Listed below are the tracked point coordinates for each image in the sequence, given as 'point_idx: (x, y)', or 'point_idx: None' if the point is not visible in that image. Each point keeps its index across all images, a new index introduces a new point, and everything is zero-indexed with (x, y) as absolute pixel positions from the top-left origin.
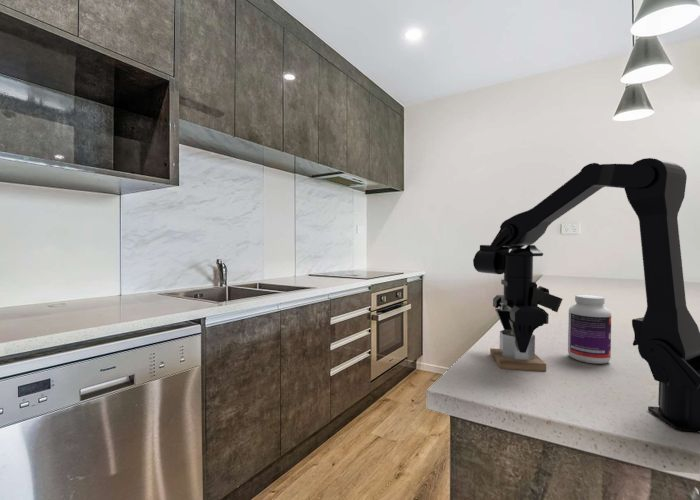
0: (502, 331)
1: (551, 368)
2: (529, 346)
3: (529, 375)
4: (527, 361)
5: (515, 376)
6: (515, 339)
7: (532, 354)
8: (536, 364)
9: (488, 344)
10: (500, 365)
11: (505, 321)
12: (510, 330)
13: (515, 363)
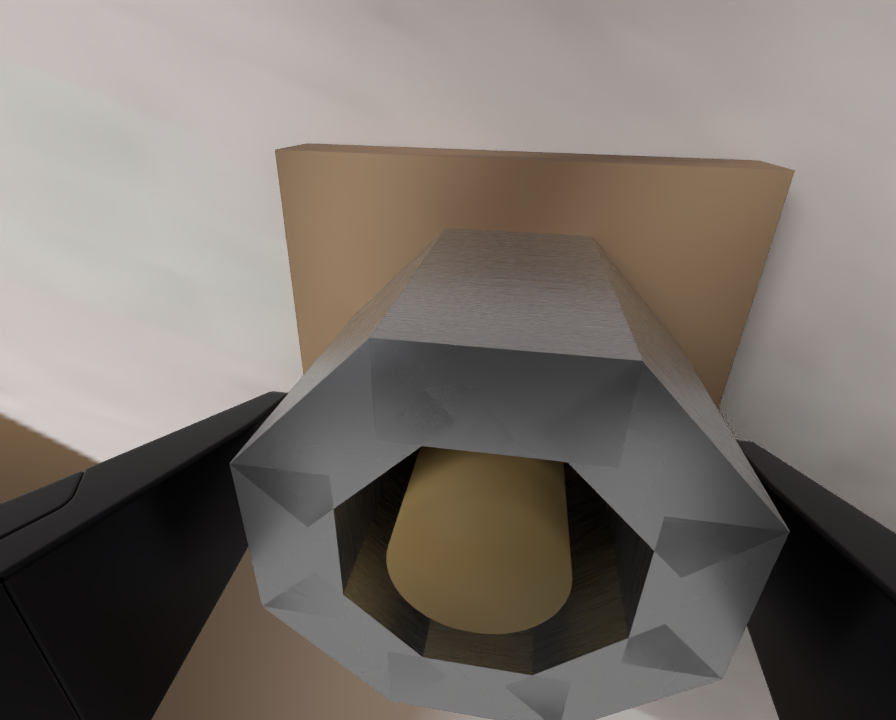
0: (403, 684)
1: (671, 51)
2: (715, 410)
3: (842, 369)
4: (684, 349)
5: (842, 477)
6: (772, 672)
7: (630, 292)
8: (756, 279)
9: (59, 399)
10: None
11: (124, 706)
12: (314, 585)
13: None
